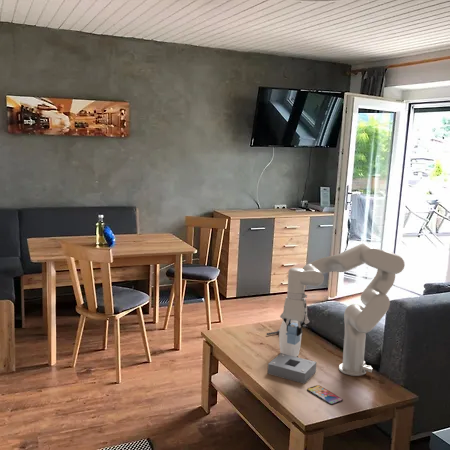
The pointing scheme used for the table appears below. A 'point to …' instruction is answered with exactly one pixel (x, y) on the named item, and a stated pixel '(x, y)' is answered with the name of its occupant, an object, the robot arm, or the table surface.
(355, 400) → the table surface
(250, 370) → the table surface
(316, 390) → the smartphone
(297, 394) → the table surface
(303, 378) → the plate
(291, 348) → the bottle
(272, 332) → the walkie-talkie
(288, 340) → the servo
